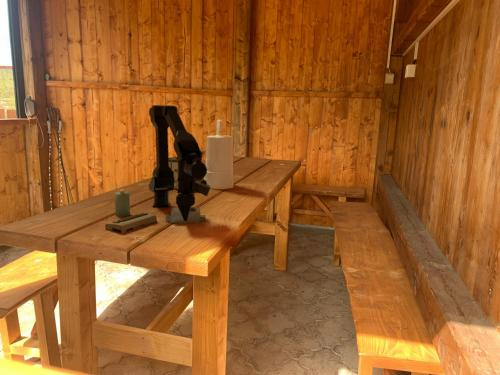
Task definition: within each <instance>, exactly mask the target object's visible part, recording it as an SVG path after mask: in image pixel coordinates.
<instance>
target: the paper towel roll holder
mask: <svg viewBox="0 0 500 375" xmlns="http://www.w3.org/2000/svg"><path fill="white" fill-rule="evenodd" d="M221 131H223V120H222V119H217V121H216V135H207V136H206V152H205V165H206V168H207V173H206V175H205V177H204V178H203V180H206V181H207V185H209V186H210V189H214V190H227V189H233V188H234V187H235V186H234V157H233V156H234V153H233V152H234V151H233V150H234V148H233V136H231V135H227V134H226V135H223V134H221Z"/></svg>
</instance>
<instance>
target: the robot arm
mask: <svg viewBox="0 0 500 375" xmlns="http://www.w3.org/2000/svg"><path fill="white" fill-rule="evenodd" d="M148 115H149V117H150V122H151V124H152V126H153V127H154V129H155V130H154V132H155V133H154V134H155V156H156V157H155V159H156V166H155V167H154V169H153V170H152V175H151V176H152V177H151V179H150V182H149V184H148V189H149V191H150V192H152V193H153V204H152V208H169V207H170V204H171V202H170V201H169V199H170V198H169V196H170V195H169V194H170V192H169V191H174V189H175V188H174V183H175V179H174V172H173V170H171V168H170V167H169V158H170V157H169V129H170V131H171V133H172V136H173V138H174V142H173V144H172V145H173V150H174V152H175V154H176V157H177V158H176V160H178V178H177V181H178V188H177V195H176V196H175V197H176V198H175V200H176V201H175V204H176V206H177V207H178V208H179V210H180V212H181V215H182V217H183V219H184V221H187V219H188V215H189V210H190V207H193V206H194V205H195V204H196V196H195V194H196V193H198V194H201V195H203V196H205V197H208V195H209V192H210V190H211V188H210V186H209V185H207V181H206V180H204V177H205V175H206V173H207V168H206V163H204V162H203V161H202V159H203V156H202V153H201V151H202V150H201V148H200V147H199V143H198V140H197V139H196V138H195V136H194V135H193V134H191V133H190V132H188V131H187V129H186V126H185V125H184V122H183V121H182V118H181V117H180V115H179V111H178V107H177V106H175V105H168V104H167V105H164V104H163V105H162V104H160V105H159V104H153V105H152V106H151V107H150V108H149V110H148Z"/></svg>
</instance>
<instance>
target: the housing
mask: <svg viewBox="0 0 500 375" xmlns="http://www.w3.org/2000/svg"><path fill="white" fill-rule="evenodd" d="M166 221H168V222H170V223H171V224H187V223H188V224H199V223H201V222H206V214H201V207H200V206H199V207H197V206H196V207H195V206H191V207H190V210H189V215H188V219H187V221H184V219H183V217H182V215H181V212H180V210H179V208H178V206H177V207H174V206H173V207H171V211H170V214H166V215H165V222H166Z"/></svg>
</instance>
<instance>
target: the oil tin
mask: <svg viewBox="0 0 500 375" xmlns="http://www.w3.org/2000/svg"><path fill="white" fill-rule="evenodd" d="M114 204H115V206H114V207H115V208H114V209H115V216H116V217H129V216H131V215H130V214H131V207H130V206H131V204H130V192H129V191H125V189H119V191H116V192H115V193H114Z"/></svg>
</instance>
